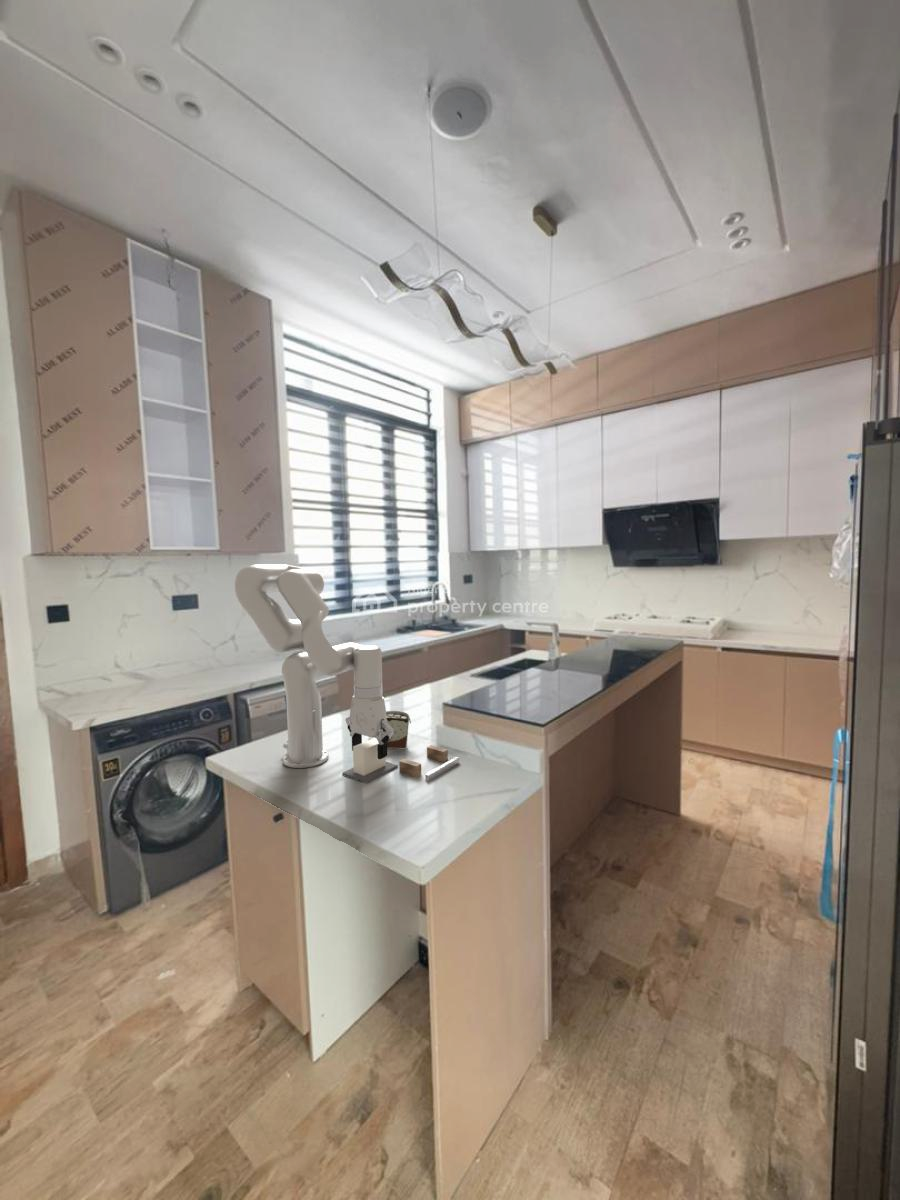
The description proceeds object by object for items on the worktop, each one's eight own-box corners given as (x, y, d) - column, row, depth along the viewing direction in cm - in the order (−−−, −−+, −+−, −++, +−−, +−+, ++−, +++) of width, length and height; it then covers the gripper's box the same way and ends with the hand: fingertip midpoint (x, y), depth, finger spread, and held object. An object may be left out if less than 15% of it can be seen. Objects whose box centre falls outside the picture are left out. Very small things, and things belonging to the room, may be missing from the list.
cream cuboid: (353, 772, 131) (352, 746, 131) (375, 762, 138) (374, 737, 137) (364, 775, 129) (363, 749, 129) (385, 765, 136) (384, 740, 135)
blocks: (399, 771, 133) (399, 761, 132) (431, 755, 144) (431, 745, 144) (428, 781, 127) (428, 769, 127) (459, 762, 138) (459, 752, 138)
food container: (414, 741, 155) (413, 710, 154) (411, 749, 149) (410, 716, 148) (376, 740, 156) (375, 710, 156) (371, 747, 150) (370, 716, 149)
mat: (342, 774, 131) (342, 772, 131) (374, 759, 141) (374, 757, 141) (366, 783, 126) (366, 781, 126) (397, 767, 136) (397, 765, 136)
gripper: (335, 690, 134) (337, 750, 135) (382, 700, 124) (383, 765, 125) (356, 684, 140) (357, 742, 141) (401, 693, 130) (402, 756, 131)
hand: (369, 753), depth 133 cm, fingers open, 9 cm apart
